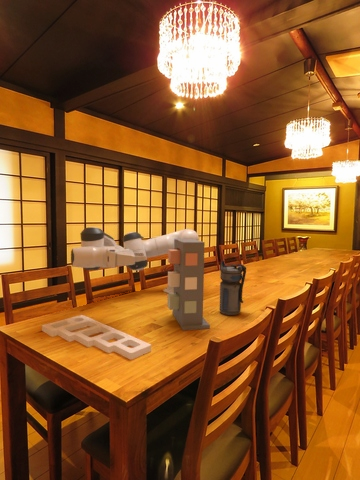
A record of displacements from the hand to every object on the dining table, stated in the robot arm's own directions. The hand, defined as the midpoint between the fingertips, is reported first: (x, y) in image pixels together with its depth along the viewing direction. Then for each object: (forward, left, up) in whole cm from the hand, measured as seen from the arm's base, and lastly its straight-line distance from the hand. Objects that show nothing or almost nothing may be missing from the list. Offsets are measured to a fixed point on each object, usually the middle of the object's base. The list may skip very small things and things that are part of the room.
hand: (144, 256), depth 126 cm
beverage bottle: (+23, +37, -29) cm, 52 cm away
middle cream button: (+9, +10, -13) cm, 19 cm away
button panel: (+13, +16, -29) cm, 36 cm away
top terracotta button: (+9, +10, -3) cm, 14 cm away
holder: (-2, -25, -30) cm, 39 cm away
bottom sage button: (+9, +10, -23) cm, 27 cm away
